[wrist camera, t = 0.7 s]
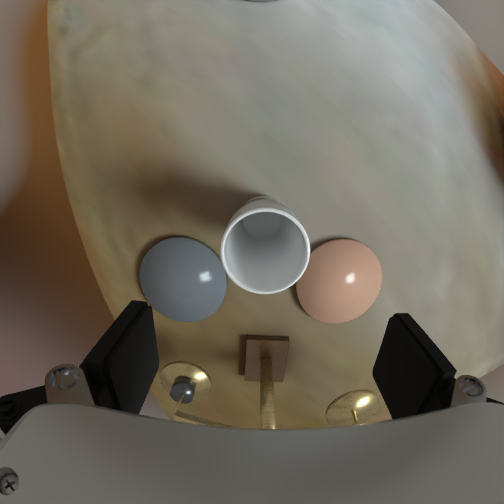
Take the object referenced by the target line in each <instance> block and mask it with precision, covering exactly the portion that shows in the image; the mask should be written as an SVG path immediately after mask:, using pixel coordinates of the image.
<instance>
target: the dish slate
mask: <svg viewBox="0 0 504 504" xmlns="http://www.w3.org/2000/svg"><path fill="white" fill-rule="evenodd" d="M139 275H140V285H141V288H142V291H143V293H144V295H145V297H146V299H147V300H148V302H149V303H150V304H151V305H152V306H153V308H154V309H156V310H157V311H158V312H159V313H161V314H162V315H164V316H166V317H168V318H170V319H173V320H176V321H181V322H195V321H199V320H202V319H205V318H207V317H209V316H210V315H212V314H213V313H214V312H215V311H216V310H217V309H218V308H219V307H220V305H221V304H222V302H223V300H224V297H225V294H226V289H227V275H226V272H225V270H224V268H223V265H222V262H221V259H220V258H219V256H218V255H217V254H216V253H215V251H214V250H212V249H211V248H210V247H209V246H208V245H206V244H205V243H203V242H201V241H199V240H197V239H194V238H190V237H184V236H176V237H170V238H167V239H164V240H162V241H160V242H158V243H157V244H155V245H154V246H153V247H152V248H151V249H150V250H149V251H148V252H147V253H146V255H145V257H144V258H143V261H142V263H141V267H140V273H139Z"/></svg>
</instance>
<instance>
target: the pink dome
mask: <svg viewBox="0 0 504 504" xmlns="http://www.w3.org/2000/svg"><path fill="white" fill-rule="evenodd" d="M381 283H382V270H381V266H380V263H379V260H378V259H377V257H376V255H375V254H374V253H373V252H372V251H371V250H370V249H369V248H368V247H367V246H365V245H364V244H362V243H360V242H358V241H356V240H352V239H346V238H340V239H333V240H330V241H327V242H324V243H322V244H320V245H319V246H317V247H316V248H314V249H313V250H312V251H311V252H310V258H309V262H308V265H307V268H306V270H305V272H304V273H303V275H302V276H301V277H300V278H299V280H298V281H297V282H296V291H297V295H298V299H299V301H300V304H301V306H302V307H303V309H304V310H305V311H306V312H307V313H308V314H309V315H310V316H311V317H313V318H314V319H316V320H319V321H321V322H325V323H343V322H347V321H350V320H352V319H355V318H356V317H358V316H360V315H361V314H363V313H364V312H365V311H366V310H367V309H368V308H369V307H370V306H371V305H372V304H373V302H374V301H375V299H376V297H377V296H378V293H379V291H380V288H381Z"/></svg>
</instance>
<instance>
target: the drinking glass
mask: <svg viewBox="0 0 504 504" xmlns="http://www.w3.org/2000/svg"><path fill="white" fill-rule="evenodd" d="M220 257H221V262H222V265H223V268H224V270H225V272H226V273H227V275H228V276H229V277H230V279H231V280H232V281H233V282H234V283H235V284H237V285H238V286H239V287H241V288H243V289H245V290H247V291H250V292H253V293H258V294H272V293H277V292H280V291H283V290H285V289H287V288H289V287H290V286H292V285H293V284H294V283H295V282H297V281H298V280H299V278H300V277H301V276H302V275H303V273H304V272H305V270H306V268H307V265H308V262H309V258H310V243H309V239H308V236H307V233H306V231H305V229H304V227H303V225H302V223H301V222H300V220H299V219H298V218H297V216H296V215H295V214H294V213H293V212H292V211H291V210H290V209H289V208H287V207H286V206H284V205H283V204H281V203H279V202H277V201H276V200H274V199H273V198H270V197H267V196H257V197H254V198H252V199H250V200H249V201H247V202H246V203H245V205H243V206H242V207H241V208H240V209H238V210H237V211H236V212H235V213H234V215H233V216H232V217H231V219H230V220H229V222H228V224H227V226H226V228H225V230H224V233H223V237H222V240H221V245H220Z"/></svg>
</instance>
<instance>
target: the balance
mask: <svg viewBox="0 0 504 504" xmlns="http://www.w3.org/2000/svg"><path fill="white" fill-rule="evenodd" d="M288 348H289V337H282V336H258V335H247V346H246V363H245V380H246V381H260V429H276V417H275V400H274V384H273V382H283V379H284V373H285V367H286V360H287V354H288ZM160 381H161V384H162V386H163V387H164V389H165V390H166V391H167V392H168V393H169V394H170V395H171V397H172V398H173V399H174V400H175V401H177V405H176V408H175V412H174V417H175V420H176V421H180V422H187V423H194V424H203V425H212V426H223V427H235V426H231V425H226V424H222V423H218V422H214V421H210V420H207V419H203V418H199V417H196V416H192V415H189V414H186V413H183V412H179V410H180V406H181V403H184V404H186V403H190V402H191V401H197V400H201V399H203V398H205V397H207V396H208V394H209V393H210V391H211V386H212V382H211V379H210V377H209V375H208V374H207V373H206V371H204V370H203V369H202V368H201V367H199V366H197V365H195V364H193V363H189V362H185V361H175V362H171V363H169V364H167V365H166V366H164V368H163V369H162V371H161V374H160ZM378 407H379V400H378V397H377V395H376V394H375V393H374V392H372V391H369V390H355V391H351V392H348V393H345V394H343V395H341V396H340V397H338V398H337V399H335V400H334V401H333V402H332V403H331V404H330V405H329V406H328V408H327V410H326V419H327V422H328V423H329V424H330V425H331V426H333V427H337V426H348V425H358V424H362V423H363V422H365V421H367V420H368V419H370V418H371V417H372V416H373V415H374V414H375V413H376V411H377V409H378ZM237 428H240V427H237Z"/></svg>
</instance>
